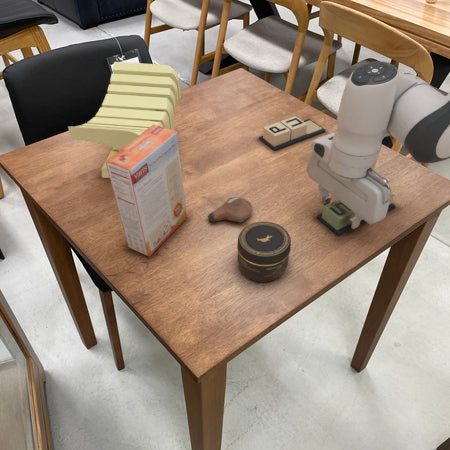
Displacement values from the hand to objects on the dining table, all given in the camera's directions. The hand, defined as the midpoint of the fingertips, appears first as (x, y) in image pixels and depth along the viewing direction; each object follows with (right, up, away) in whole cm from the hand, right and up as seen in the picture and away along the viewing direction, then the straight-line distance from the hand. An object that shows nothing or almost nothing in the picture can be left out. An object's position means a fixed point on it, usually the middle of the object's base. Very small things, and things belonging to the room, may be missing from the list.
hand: (338, 214), depth 93 cm
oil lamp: (-23, 0, +3) cm, 23 cm away
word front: (+5, +1, +3) cm, 6 cm away
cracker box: (-39, -4, 0) cm, 39 cm away
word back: (-6, +26, +24) cm, 36 cm away
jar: (-17, -12, -7) cm, 22 cm away
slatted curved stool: (-45, +15, +16) cm, 50 cm away
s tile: (0, -1, +1) cm, 1 cm away
